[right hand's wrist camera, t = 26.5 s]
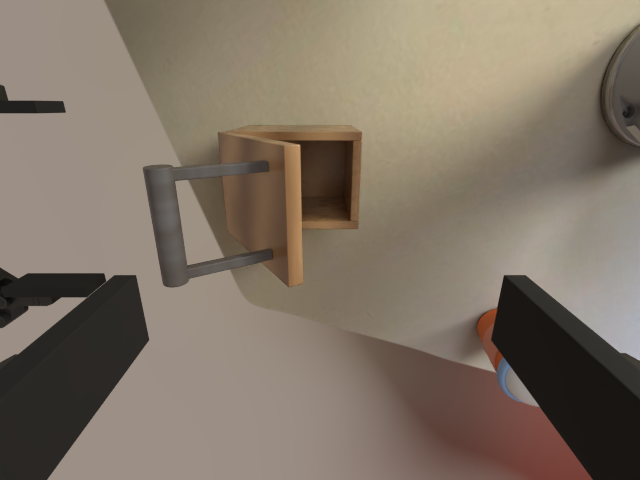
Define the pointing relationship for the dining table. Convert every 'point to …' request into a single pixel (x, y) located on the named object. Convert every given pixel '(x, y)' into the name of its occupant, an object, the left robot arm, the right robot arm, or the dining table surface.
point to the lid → (236, 208)
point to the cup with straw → (502, 363)
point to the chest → (323, 171)
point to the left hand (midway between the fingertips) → (76, 204)
